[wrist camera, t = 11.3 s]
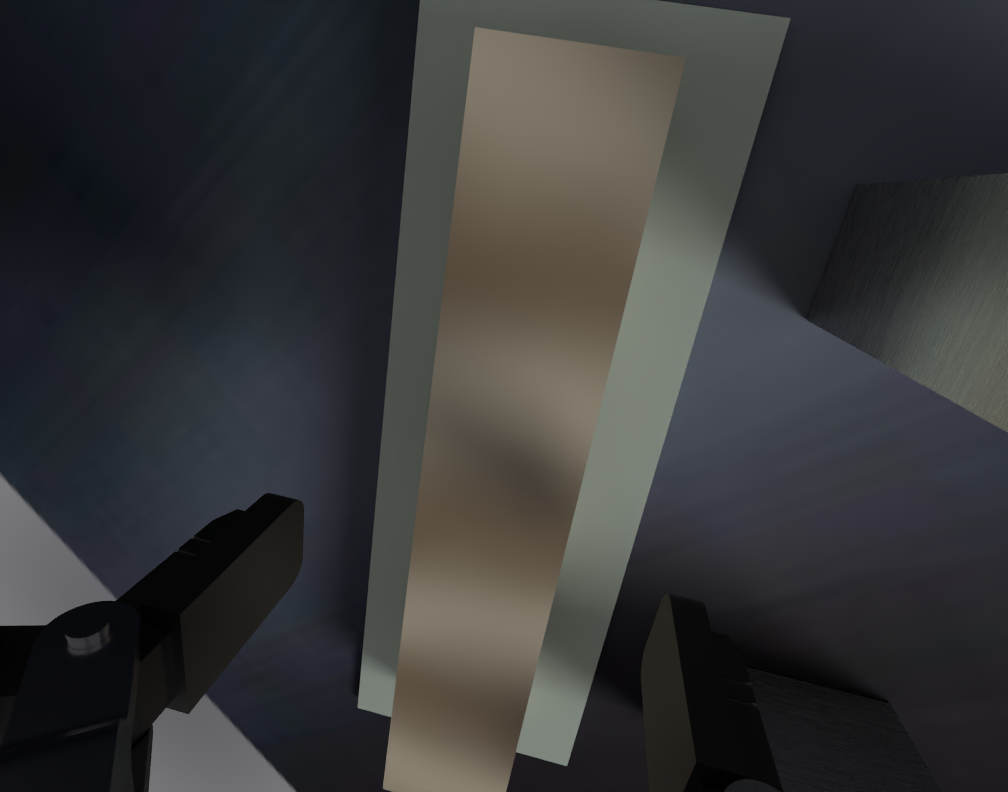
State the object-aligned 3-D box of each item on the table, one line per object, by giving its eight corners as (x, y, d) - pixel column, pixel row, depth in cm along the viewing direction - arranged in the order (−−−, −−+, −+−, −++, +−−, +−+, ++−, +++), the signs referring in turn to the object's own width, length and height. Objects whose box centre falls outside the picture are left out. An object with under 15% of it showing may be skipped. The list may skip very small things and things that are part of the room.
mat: (427, -25, 14) (422, -32, 13) (785, 23, 13) (790, 18, 13) (361, 699, 23) (357, 707, 23) (567, 756, 22) (566, 765, 22)
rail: (507, 74, 14) (474, 26, 10) (662, 97, 14) (686, 58, 10) (419, 688, 22) (382, 788, 18) (515, 715, 21) (498, 822, 18)
